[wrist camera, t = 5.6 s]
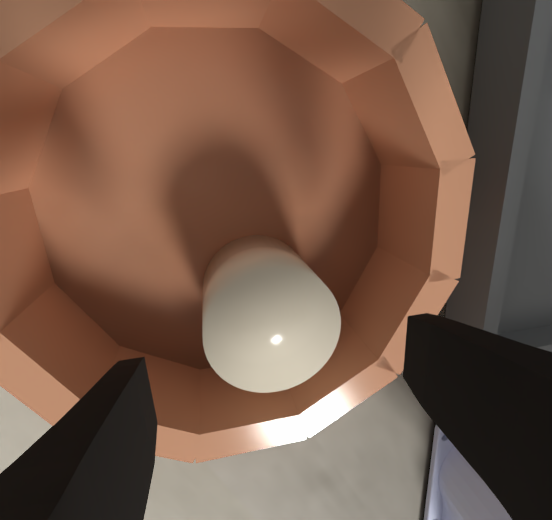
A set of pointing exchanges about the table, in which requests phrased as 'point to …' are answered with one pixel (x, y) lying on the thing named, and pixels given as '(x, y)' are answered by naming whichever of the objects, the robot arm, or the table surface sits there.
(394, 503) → the table surface
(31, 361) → the terracotta bowl
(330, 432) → the table surface
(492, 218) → the parts tray
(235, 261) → the beige rounded capsule
